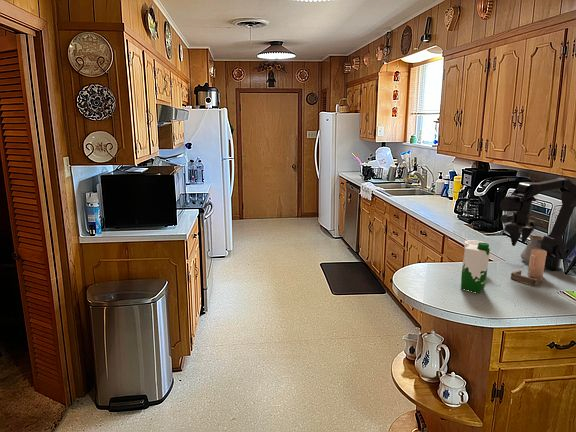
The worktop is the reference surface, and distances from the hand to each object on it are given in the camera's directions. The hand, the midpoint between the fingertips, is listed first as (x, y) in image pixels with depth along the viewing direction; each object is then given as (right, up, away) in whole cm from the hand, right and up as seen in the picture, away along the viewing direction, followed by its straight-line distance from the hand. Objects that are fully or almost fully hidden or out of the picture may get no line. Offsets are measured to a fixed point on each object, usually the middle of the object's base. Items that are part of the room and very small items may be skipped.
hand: (518, 244), depth 197 cm
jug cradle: (0, -15, -8) cm, 17 cm away
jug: (+5, -14, -4) cm, 16 cm away
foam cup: (-20, -12, +3) cm, 23 cm away
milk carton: (-29, -18, -19) cm, 39 cm away
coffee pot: (+11, -10, +18) cm, 23 cm away
